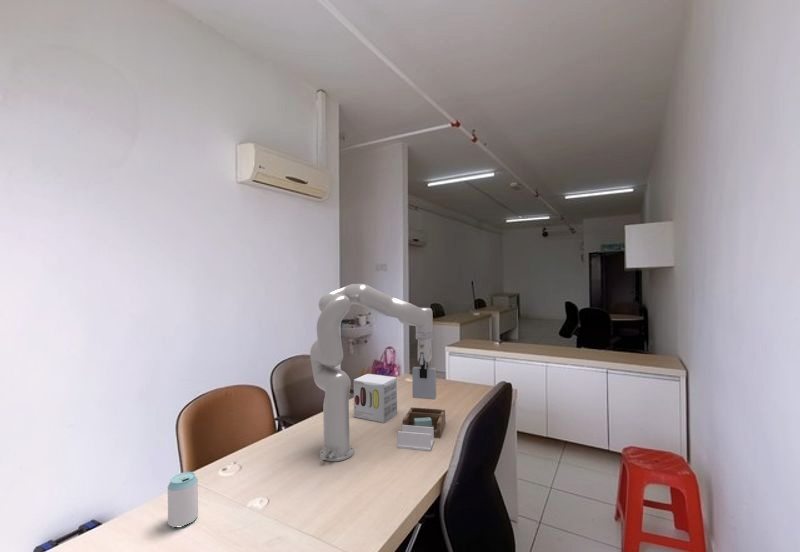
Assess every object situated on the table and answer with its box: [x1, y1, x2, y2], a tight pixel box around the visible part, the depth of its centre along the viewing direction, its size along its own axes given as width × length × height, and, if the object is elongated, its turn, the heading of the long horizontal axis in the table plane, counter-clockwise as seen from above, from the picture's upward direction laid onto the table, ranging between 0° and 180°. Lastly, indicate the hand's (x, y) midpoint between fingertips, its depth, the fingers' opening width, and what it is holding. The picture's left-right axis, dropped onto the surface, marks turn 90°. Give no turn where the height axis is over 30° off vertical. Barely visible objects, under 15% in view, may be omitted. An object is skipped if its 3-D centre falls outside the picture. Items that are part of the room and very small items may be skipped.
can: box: [167, 471, 199, 528], centre depth 99 cm, size 7×7×12 cm
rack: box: [401, 407, 446, 439], centre depth 158 cm, size 16×16×6 cm
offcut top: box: [414, 417, 432, 427], centre depth 154 cm, size 3×7×3 cm, turn 98°
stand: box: [396, 424, 435, 452], centre depth 143 cm, size 9×13×6 cm
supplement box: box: [353, 373, 398, 424], centre depth 175 cm, size 17×13×18 cm
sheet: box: [411, 366, 437, 400], centre depth 161 cm, size 4×10×13 cm, turn 75°
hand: (424, 376), depth 161 cm, fingers closed on sheet, 3 cm apart
